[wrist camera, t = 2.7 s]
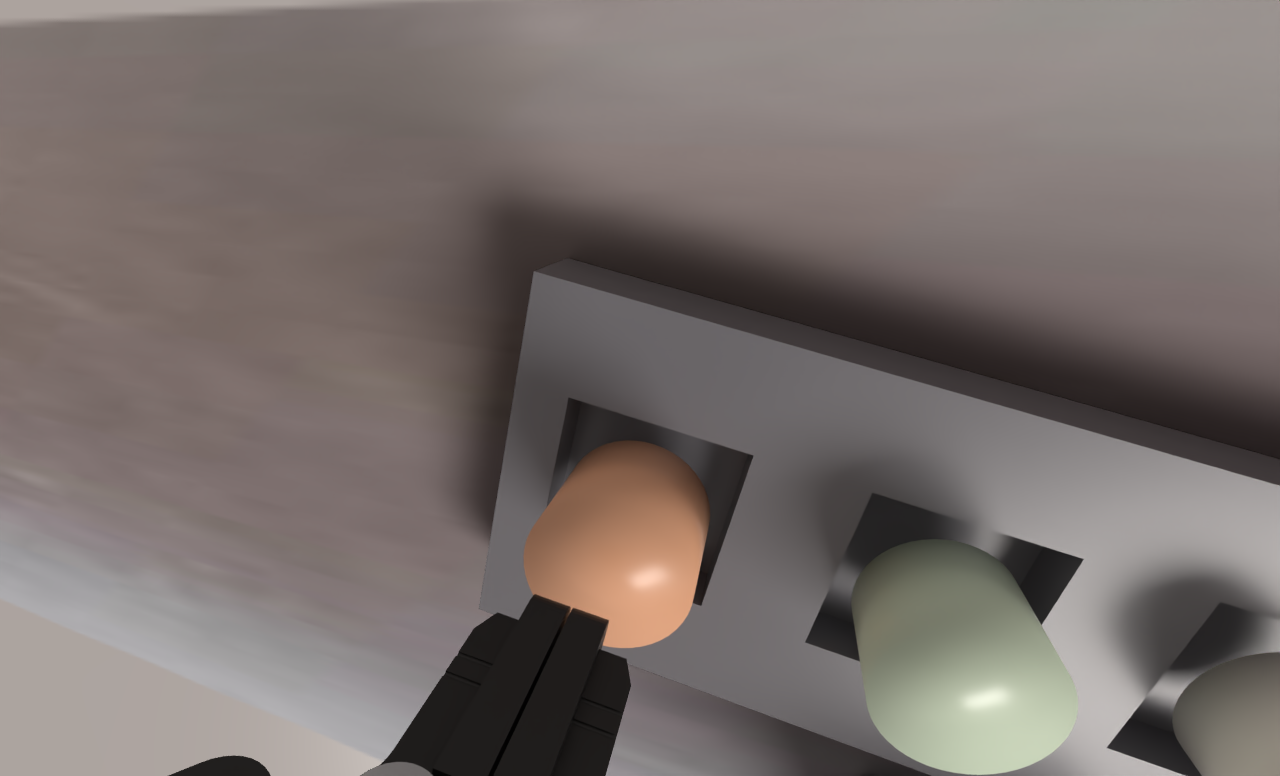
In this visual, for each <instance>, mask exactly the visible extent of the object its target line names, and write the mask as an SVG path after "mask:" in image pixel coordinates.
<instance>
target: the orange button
mask: <svg viewBox="0 0 1280 776" xmlns="http://www.w3.org/2000/svg"><path fill="white" fill-rule="evenodd" d="M709 523H710V505H709V500H708V496H707V493H706V491H705V488H704V486H703V484H702V482H701V480H700V479H699V477H698V476H697V475H696V473H695V472H694V471H693V470H692V468H691V467H690V466H689V465H688V464H687V463H686V462H684V461H683V460H682V459H681V458H680V457H678V456H677V455H675V454H674V453H672V452H670V451H668V450H666V449H665V448H662V447H660V446H657V445H655V444H651V443H647V442H642V441H631V440H624V441H616V442H612V443H608V444H605V445H602V446H600V447H598V448H596V449H594V450H592V451H591V452H589V453H588V454H587V455H586V456H584V457H583V458H582V459H581V461H580V462H579V463H578V464H577V465H576V467H575V468H574V470H573V471H572V473H571V474H570V475H569V477H568V478H567V480H566V481H565V482H564V484H563V485H562V487H561V488H560V489H559V491H558V492H557V494H556V495H555V496H554V498H553V499H552V501H551V502H550V503H549V505H548V506H547V508H546V509H545V511H544V512H543V513H542V515H541V516H540V518H539V519H538V520H537V522H536V523H535V525H534V526H533V528H532V529H531V531H530V533H529V535H528V537H527V540H526V544H525V547H524V556H523V558H524V570H525V576H526V579H527V582H528V585H529V587H530V589H531V591H532V594H533V595H534V594H537V595H539V596H542V597H545V598H548V599H551V600H553V601H556V602H559V603H562V604H565V605H567V606H570V607H571V610H572V609H573V608H576V609H579V610H582V611H585V612H588V613H590V614H593V615H596V616H599V617H602V618H604V619H607V620H609V624H608V628H607V632H606V635H605V639H604V642H603V646H608V647H615V648H635V647H642V646H646V645H650V644H653V643H655V642H658V641H660V640H662V639H664V638H666V637H667V636H669V635H670V634H671V633H673V632H674V631H675V630H676V629H677V628H678V627H679V626H680V625H681V624H682V623H683V621H684V620H685V618H686V617H687V615H688V613H689V611H690V609H691V606H692V603H693V599H694V594H695V590H696V585H697V580H698V575H699V571H700V566H701V561H702V556H703V552H704V547H705V542H706V538H707V533H708V528H709ZM570 612H571V611H570Z"/></svg>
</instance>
